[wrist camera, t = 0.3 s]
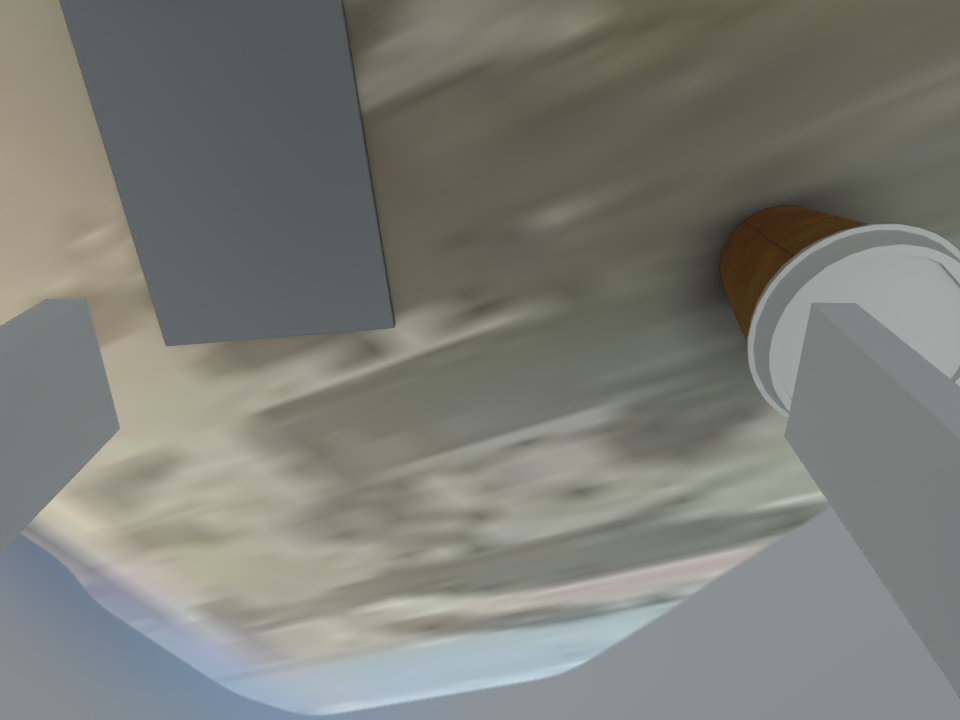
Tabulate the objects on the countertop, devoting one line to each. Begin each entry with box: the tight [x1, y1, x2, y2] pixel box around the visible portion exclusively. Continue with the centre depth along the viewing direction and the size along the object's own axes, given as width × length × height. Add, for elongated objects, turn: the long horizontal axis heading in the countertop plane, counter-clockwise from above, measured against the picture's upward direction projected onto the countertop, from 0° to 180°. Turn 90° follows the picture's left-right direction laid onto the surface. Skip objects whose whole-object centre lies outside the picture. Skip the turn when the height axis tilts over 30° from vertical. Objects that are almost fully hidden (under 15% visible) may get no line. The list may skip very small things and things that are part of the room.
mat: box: [59, 0, 395, 346], centre depth 39 cm, size 20×14×1 cm
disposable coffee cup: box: [720, 206, 960, 418], centre depth 35 cm, size 10×10×12 cm
